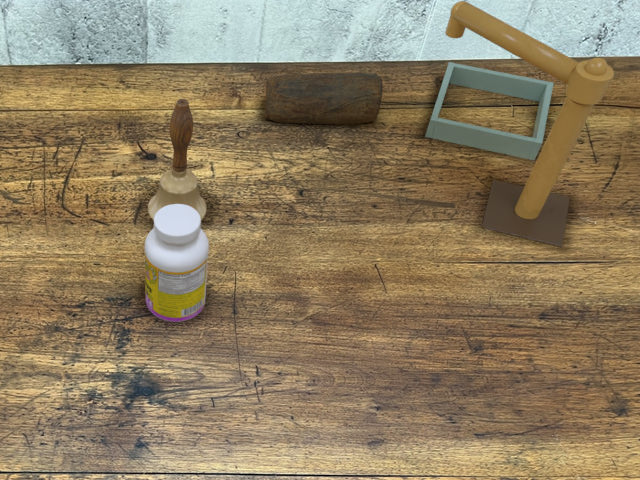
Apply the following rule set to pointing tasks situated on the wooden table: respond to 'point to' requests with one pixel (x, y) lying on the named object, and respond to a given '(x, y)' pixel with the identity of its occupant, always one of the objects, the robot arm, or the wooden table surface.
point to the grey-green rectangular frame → (486, 136)
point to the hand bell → (179, 167)
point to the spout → (535, 53)
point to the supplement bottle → (176, 264)
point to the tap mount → (539, 186)
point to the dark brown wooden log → (324, 98)
